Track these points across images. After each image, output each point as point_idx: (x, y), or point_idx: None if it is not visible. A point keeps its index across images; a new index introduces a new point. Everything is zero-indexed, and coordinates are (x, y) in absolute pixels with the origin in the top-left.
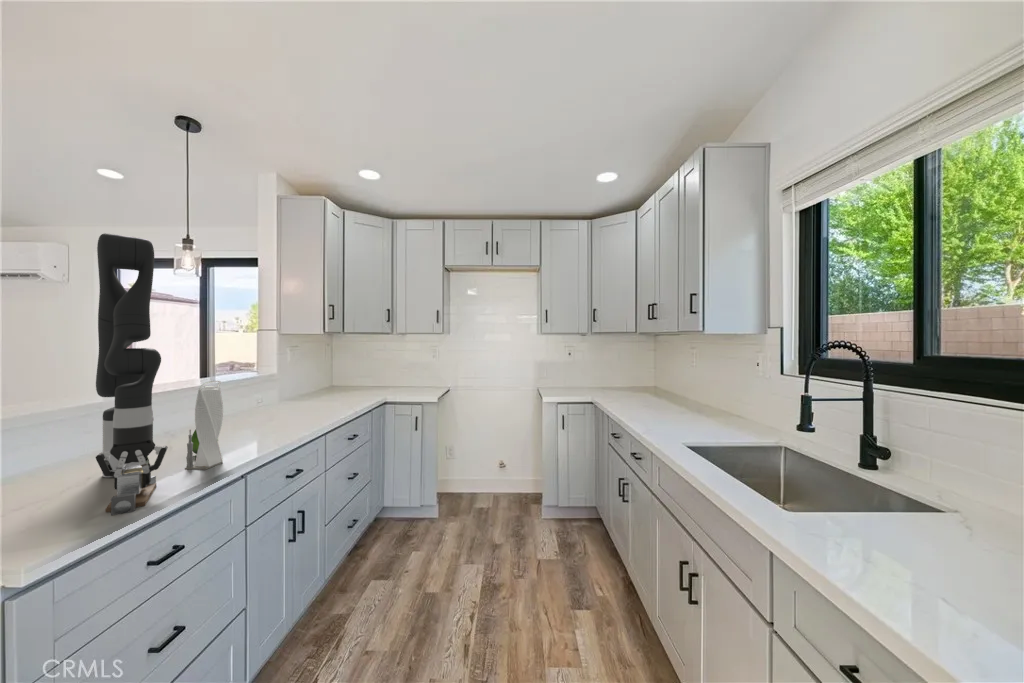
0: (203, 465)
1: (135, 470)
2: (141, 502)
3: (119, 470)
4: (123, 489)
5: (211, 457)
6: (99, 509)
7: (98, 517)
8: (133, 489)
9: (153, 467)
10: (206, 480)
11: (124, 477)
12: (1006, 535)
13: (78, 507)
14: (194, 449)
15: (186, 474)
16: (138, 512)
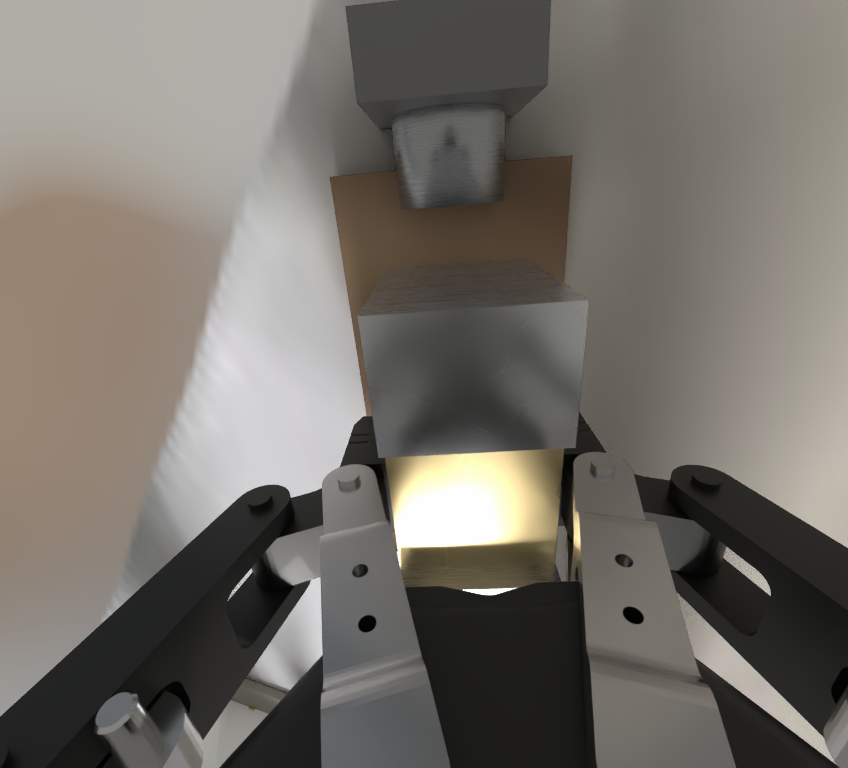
0: (253, 715)
1: (472, 568)
2: (352, 175)
3: (601, 505)
4: (495, 271)
5: (202, 764)
6: (608, 261)
7: (590, 47)
8: (421, 277)
9: (278, 506)
10: (146, 520)
11: (509, 302)
12: None
13: (720, 372)
14: None
15: (304, 649)
16: (329, 3)
